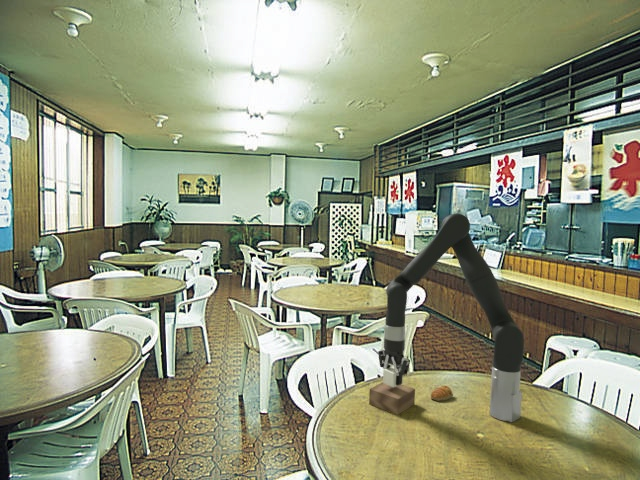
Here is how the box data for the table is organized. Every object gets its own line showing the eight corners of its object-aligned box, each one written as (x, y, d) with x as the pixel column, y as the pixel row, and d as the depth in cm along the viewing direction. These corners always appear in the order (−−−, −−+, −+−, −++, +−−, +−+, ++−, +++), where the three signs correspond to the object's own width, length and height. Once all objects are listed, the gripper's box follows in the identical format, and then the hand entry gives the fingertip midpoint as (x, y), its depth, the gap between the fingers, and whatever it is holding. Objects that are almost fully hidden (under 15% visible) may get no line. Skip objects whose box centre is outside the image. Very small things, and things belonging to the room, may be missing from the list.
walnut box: (414, 404, 160) (415, 388, 160) (397, 415, 151) (398, 399, 151) (386, 394, 168) (387, 379, 168) (369, 404, 159) (369, 388, 159)
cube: (402, 384, 159) (402, 370, 158) (393, 387, 155) (393, 373, 155) (392, 379, 162) (392, 366, 162) (382, 382, 159) (383, 369, 159)
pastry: (441, 404, 161) (441, 394, 161) (425, 398, 166) (426, 388, 165) (454, 397, 167) (454, 387, 167) (438, 391, 172) (439, 382, 172)
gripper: (416, 340, 154) (414, 386, 156) (387, 330, 166) (385, 374, 167) (402, 343, 150) (400, 391, 151) (373, 333, 161) (371, 378, 162)
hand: (392, 382), depth 159 cm, fingers closed on cube, 5 cm apart
